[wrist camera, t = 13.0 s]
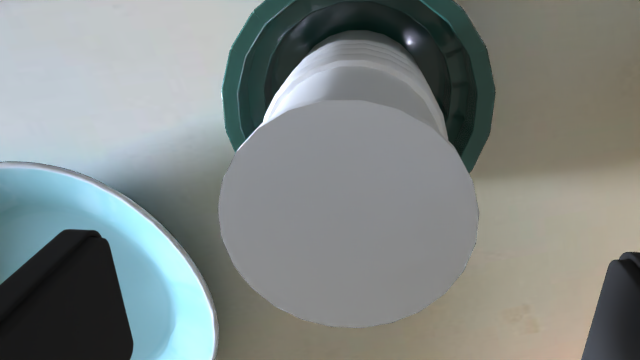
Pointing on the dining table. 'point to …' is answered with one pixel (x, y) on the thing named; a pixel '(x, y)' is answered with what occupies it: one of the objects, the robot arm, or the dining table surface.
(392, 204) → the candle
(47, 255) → the robot arm
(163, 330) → the plate
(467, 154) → the bowl
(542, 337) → the dining table surface
